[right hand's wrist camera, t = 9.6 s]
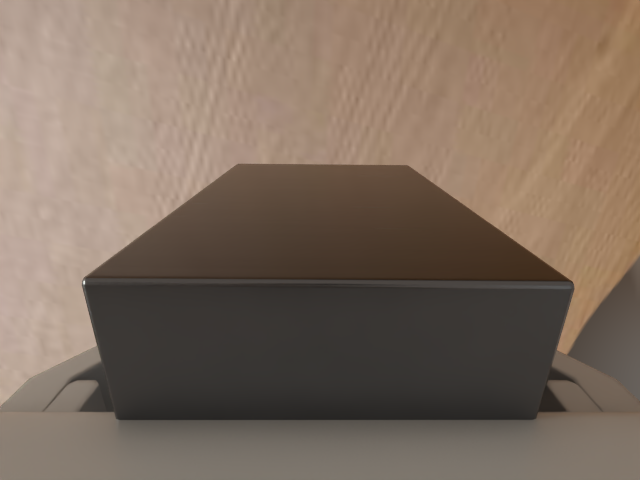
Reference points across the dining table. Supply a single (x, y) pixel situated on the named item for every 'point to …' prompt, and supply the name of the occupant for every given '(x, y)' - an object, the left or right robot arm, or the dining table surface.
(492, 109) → the dining table surface
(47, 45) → the dining table surface
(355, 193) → the bar
